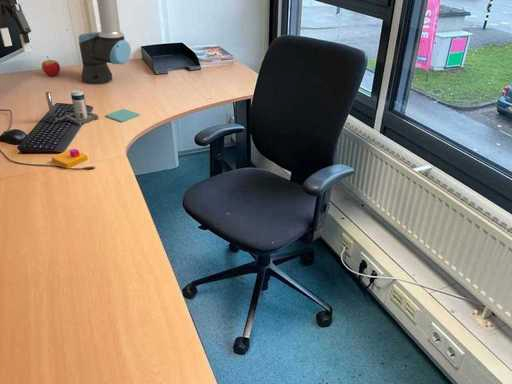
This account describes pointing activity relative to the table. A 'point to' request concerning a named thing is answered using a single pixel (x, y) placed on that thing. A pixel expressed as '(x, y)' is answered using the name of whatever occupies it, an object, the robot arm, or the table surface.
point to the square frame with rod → (51, 109)
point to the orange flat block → (69, 158)
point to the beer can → (79, 104)
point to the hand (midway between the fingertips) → (18, 48)
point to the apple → (51, 67)
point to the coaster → (122, 115)
